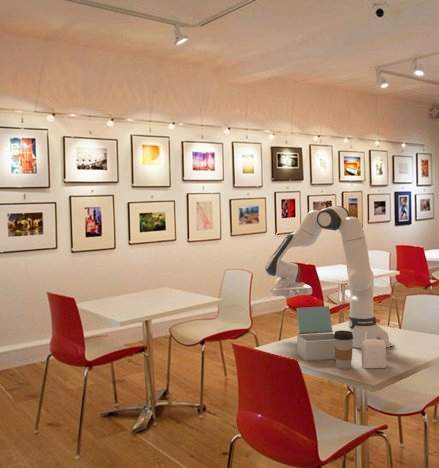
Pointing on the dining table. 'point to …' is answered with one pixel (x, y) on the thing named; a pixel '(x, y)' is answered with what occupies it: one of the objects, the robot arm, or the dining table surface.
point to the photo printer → (373, 353)
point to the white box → (316, 346)
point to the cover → (314, 320)
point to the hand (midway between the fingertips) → (296, 293)
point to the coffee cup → (343, 348)
